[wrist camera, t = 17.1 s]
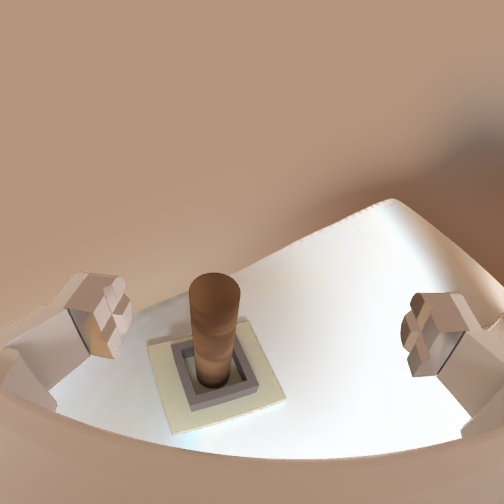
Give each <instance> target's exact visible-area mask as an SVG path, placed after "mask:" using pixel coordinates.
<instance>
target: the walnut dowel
mask: <svg viewBox="0 0 504 504" xmlns="http://www.w3.org/2000/svg"><path fill="white" fill-rule="evenodd" d="M189 300H190V313H191V325H192V337H193V347H194V357H195V366H196V375H197V379H198V381H199V382H200V384H202V385H203V386H204V387H206V388H210V389H217V388H220V387H222V386H224V385H225V384H226V383H227V382H228V380H229V376H230V368H231V361H232V353H233V346H234V338H235V331H236V323H237V316H238V308H239V301H240V288H239V286H238V284H237V283H236V281H235V280H234V279H232V278H231V277H229V276H227V275H225V274H221V273H207V274H203V275H201V276H199V277H197V278H196V279H195V280H194V281H193V282H192V284H191V285H190V289H189Z"/></svg>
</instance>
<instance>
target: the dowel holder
mask: <svg viewBox="0 0 504 504" xmlns="http://www.w3.org/2000/svg"><path fill="white" fill-rule="evenodd" d="M147 350H148V354H149V358H150V362H151V366H152V370H153V374H154V377H155V381H156V385H157V388H158V392H159V395H160V399H161V402H162V405H163V409H164V412H165V415H166V418H167V421H168V424H169V427H170V430H171V433H172V435H177V434H181V433H185V432H189V431H193V430H197V429H201V428H204V427H208V426H211V425H215V424H218V423H221V422H225V421H228V420H231V419H234V418H237V417H240V416H243V415H246V414H249V413H252V412H255V411H258V410H261V409H263V408H266V407H269V406H272V405H274V404H277V403H280V402H282V401H285V399H286V397H285V395H284V393H283V391H282V389H281V387H280V385H279V383H278V381H277V379H276V377H275V375H274V373H273V371H272V369H271V367H270V365H269V363H268V360H267V358H266V356H265V354H264V352H263V350H262V348H261V346H260V344H259V342H258V340H257V338H256V336H255V334H254V332H253V330H252V328H251V326H250V323H249V321H245V322H241V323H238V324H236V331H235V338H234V346H233V353H232V361H231V368H230V376H229V380H228V382H227V383H226V384H225V385H224V386H222V387H220V388H217V389H210V388H206V387H204V386H203V385H202V384H200V382H199V381H198V379H197V375H196V366H195V357H194V347H193V337H192V335H191V336H187V337H183V338H179V339H175V340H171V341H167V342H162V343H158V344H153V345H149V346H147Z"/></svg>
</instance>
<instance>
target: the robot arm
mask: <svg viewBox="0 0 504 504" xmlns="http://www.w3.org/2000/svg"><path fill="white" fill-rule="evenodd" d="M125 290H126V284H125V281H124V279H123V278H121V277H120V276H112V275H104V274H97V273H88V272H77V273H75V274H74V275H73V276H72V278H71V279H70V280H69V281H68V282H67V284H66V285H65V286H64V287H63V289H62V290H61V291H60V292H59V294H58V295H57V296H56V298H55V299H54V301H53V302H52V303H51V304H50V305H45V306H43V307H41V308H39V309H37V310H35V311H34V312H32V313H31V314H28V315H27V316H25V317H23V318H21V319H20V320H18V321H16V322H14V323H13V324H11V325H9V326H7V327H6V328H4V329H2V330H1V331H0V504H504V313H503V314H501V315H500V317H499V318H498V319H497V321H496V322H495V323H493V324H491V325H488V326H486V327H484V328H481V326H480V324H479V322H478V321H477V319H476V317H475V315H474V314H473V312H472V310H471V308H470V307H469V305H468V303H467V302H466V300H465V298H464V297H463V295H462V294H460V293H459V292H447V293H416V294H415V295H414V296H413V298H412V300H411V302H410V306H411V309H412V310H411V311H410V312H409V313H407V314H406V315H405V317H404V319H403V322H402V324H401V333H400V334H401V341H402V344H403V347H404V348H405V349H406V350H407V351H408V352H410V353H409V356H408V358H407V360H408V364H409V367H410V370H411V373H412V377H422V376H434V375H437V378H438V379H439V380H440V381H441V382H442V383H443V384H444V386H445V387H446V388H447V389H448V390H449V391H450V392H451V394H452V395H453V396H454V397H455V398H456V399H457V401H458V402H459V403H460V404H461V405H462V406H463V408H464V409H465V410H466V411H467V412H468V413H469V415H470V416H471V417H472V419H471V420H469V421H468V422H467V423H466V424H465V425H464V426H463V428H462V429H461V435H462V438H460V439H457V440H453V441H449V442H445V443H441V444H436V445H432V446H427V447H422V448H417V449H412V450H406V451H400V452H393V453H387V454H379V455H370V456H361V457H349V458H333V459H267V458H251V457H239V456H229V455H220V454H212V453H205V452H198V451H192V450H186V449H181V448H175V447H170V446H165V445H160V444H156V443H151V442H147V441H143V440H139V439H135V438H131V437H127V436H124V435H120V434H117V433H113V432H110V431H107V430H103V429H100V428H97V427H94V426H91V425H88V424H85V423H82V422H80V421H77V420H74V419H71V418H69V417H66V416H64V415H61V414H59V413H56V412H55V410H56V407H57V403H56V401H55V399H54V398H53V397H52V396H51V395H50V393H49V392H48V391H49V390H50V389H51V388H52V387H54V386H55V385H56V384H57V383H58V382H60V381H61V380H62V379H63V378H64V377H65V376H67V375H68V374H69V373H70V372H71V371H73V370H74V369H75V368H76V367H77V366H79V365H80V364H81V363H82V362H83V361H85V360H86V359H87V358H88V357H89V356H90V355H95V356H100V357H105V358H110V359H115V357H116V354H117V352H118V350H119V348H120V346H121V344H122V339H121V335H122V334H124V333H125V332H127V331H128V329H129V327H130V325H131V322H132V316H133V311H132V305H131V301H130V299H128V297H127V296H126V295H125V294H124V292H125Z"/></svg>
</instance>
